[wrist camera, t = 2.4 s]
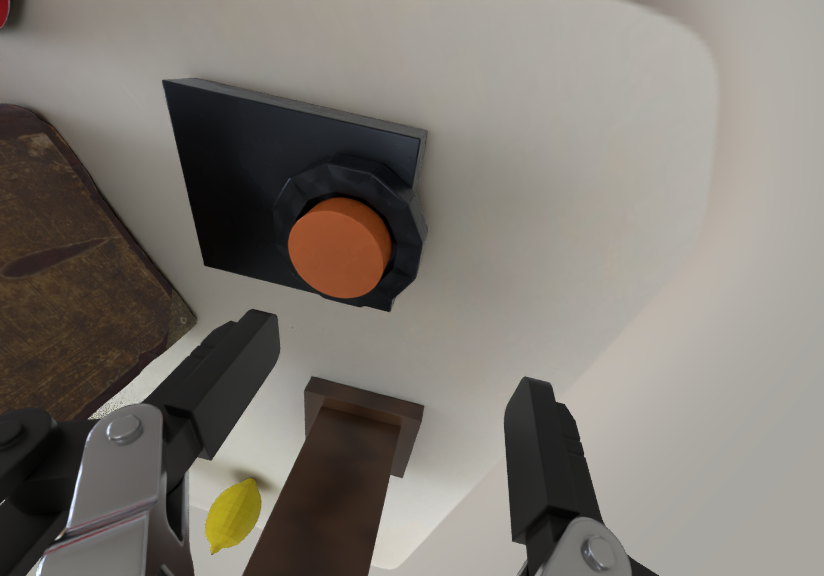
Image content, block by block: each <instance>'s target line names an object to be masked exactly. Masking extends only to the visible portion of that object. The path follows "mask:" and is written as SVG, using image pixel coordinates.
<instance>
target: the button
mask: <svg viewBox="0 0 824 576" xmlns="http://www.w3.org/2000/svg"><path fill="white" fill-rule="evenodd" d="M288 249H289V255H290V258H291V261H292V263H293V265H294V267H295V269H296V270H297V272H298V273H299V275H300V276H301V277H302V278H303V279H304V280H305V281H306V282H307V283H308V284H309V285H311V286H312V287H313V288H315V289H316V290H318V291H320V292H322V293H324V294H327V295H330V296H333V297H338V298H355V297H359V296H362V295H364V294H366V293H368V292H369V291H371V290H372V289H373V288H374V287H375V286H376V285H377V284H378V282H379V280H380V278H381V276H382V274H383V272H384V270H385V268H386V266H387V263H388V261H389V259H390V255H391V249H392V244H391V237H390V234H389V231H388V229H387V227H386V225H385V223H384V222H383V220H382V219H381V218H380V216H379V215H378V214H377V213H376V212H375V211H374V210H372V209H371V208H370V207H368V206H367V205H365V204H363V203H361V202H359V201H357V200H353V199H350V198H343V197H336V198H330V199H326V200H324V201H321V202H320V203H318V204H317V205H316V206H314V207H313V208H312V209H311V210H310V211H309V212H307V213H306V214H305V215H304V216H303V217H302V218H300V219H299V220H298V221H297V222H296V223H295V225H294V226H293V228H292V230H291V232H290V235H289V240H288Z"/></svg>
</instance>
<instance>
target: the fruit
mask: <svg viewBox="0 0 824 576" xmlns="http://www.w3.org/2000/svg"><path fill="white" fill-rule="evenodd" d="M260 511H261V495H260V493H259V491H258V488H257V484H256V481H255V480H254V479H252V478H248V479H246V480H244V481H243V482H241V483H238V484H235V485H233V486H231V487H229V488H228V489H226V490H225V491H224V492H223V493H222V494H220V496H219V497H218V498H217V499H216V500H215V502H214V503H213V504H212V507H211V509H210V511H209V513H208V516H207V520H206V524H205V535H206V537H207V540H208V541H209V542H210V544H211V548H210V549H211V550H210V551H211V555H213V554H214V553H217V552H218V551H219V550H220V549H222V548H229V547H232V546H235V545H237V544H239V543H240V542H241V541H242V540H243V539H244V538H245V537H246V536H247V535H248V534H249V533H250V532H251V530H252V529H253V528H254V526H255V524H256V522H257V520H258V518H259V515H260Z"/></svg>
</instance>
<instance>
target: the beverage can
mask: <svg viewBox="0 0 824 576" xmlns="http://www.w3.org/2000/svg"><path fill="white" fill-rule="evenodd" d="M9 11H10V0H0V28H1V27H3V25H4V24H5V22H6V21H7V17H8V14H9Z"/></svg>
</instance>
